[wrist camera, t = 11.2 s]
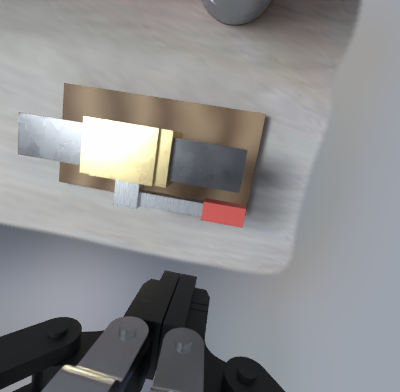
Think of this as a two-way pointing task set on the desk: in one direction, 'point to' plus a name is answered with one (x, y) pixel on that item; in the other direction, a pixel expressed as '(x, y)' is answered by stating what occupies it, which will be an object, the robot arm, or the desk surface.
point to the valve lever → (179, 204)
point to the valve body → (131, 152)
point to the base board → (169, 120)
